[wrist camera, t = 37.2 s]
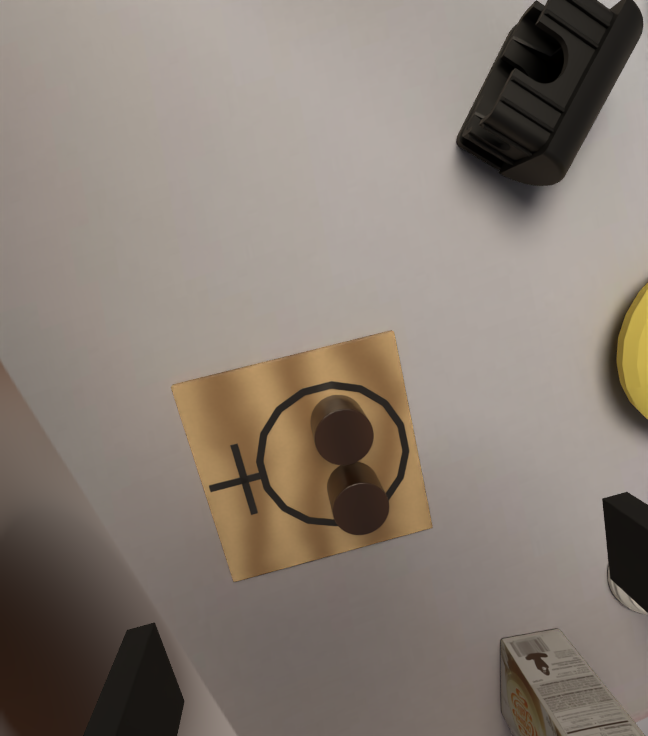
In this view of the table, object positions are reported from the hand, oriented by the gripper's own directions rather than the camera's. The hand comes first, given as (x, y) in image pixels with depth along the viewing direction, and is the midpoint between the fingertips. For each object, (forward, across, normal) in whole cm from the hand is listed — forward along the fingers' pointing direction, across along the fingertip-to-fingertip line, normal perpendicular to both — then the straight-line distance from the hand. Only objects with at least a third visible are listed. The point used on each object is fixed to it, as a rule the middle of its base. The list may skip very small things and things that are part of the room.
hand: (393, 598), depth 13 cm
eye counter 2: (+24, +1, -3) cm, 24 cm away
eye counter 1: (+24, +1, -9) cm, 26 cm away
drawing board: (+25, -2, -6) cm, 25 cm away
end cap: (+25, +20, +17) cm, 36 cm away
